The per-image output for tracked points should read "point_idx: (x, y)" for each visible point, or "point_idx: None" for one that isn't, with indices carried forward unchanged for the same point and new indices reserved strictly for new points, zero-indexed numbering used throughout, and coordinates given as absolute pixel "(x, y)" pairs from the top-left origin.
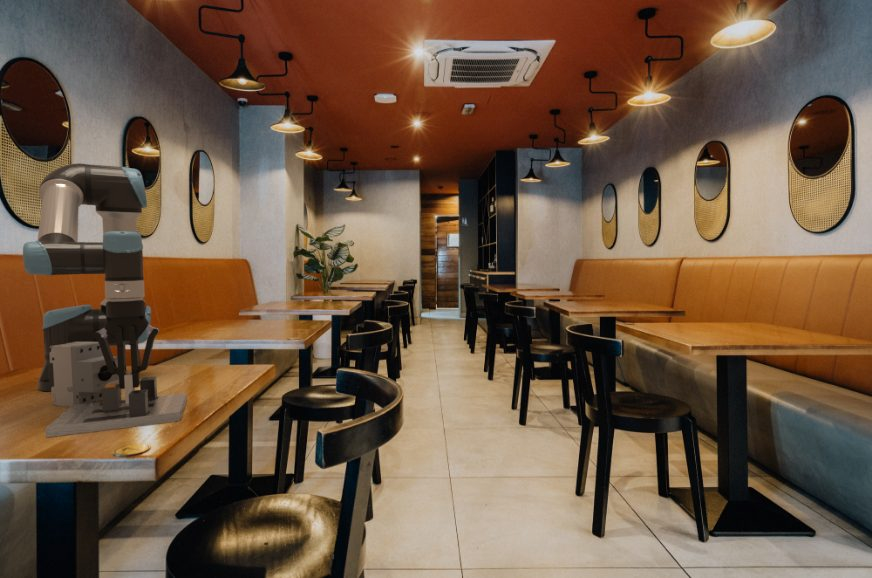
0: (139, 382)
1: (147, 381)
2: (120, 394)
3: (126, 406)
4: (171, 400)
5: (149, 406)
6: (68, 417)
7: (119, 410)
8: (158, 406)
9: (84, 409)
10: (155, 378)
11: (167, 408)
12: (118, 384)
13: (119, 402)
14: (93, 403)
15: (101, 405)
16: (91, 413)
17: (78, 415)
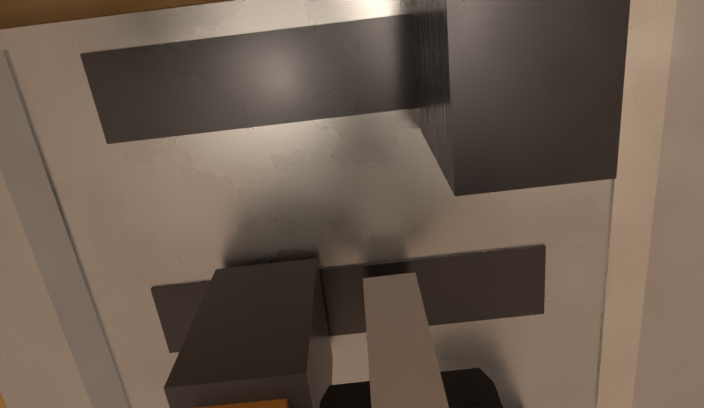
0: (498, 403)
1: (533, 183)
2: (317, 339)
3: (353, 266)
4: (659, 185)
5: (517, 316)
6: (67, 395)
7: (334, 340)
8: (575, 323)
9: (64, 252)
10: (620, 63)
11: (635, 387)
12: (294, 397)
13: (325, 346)
14: (15, 58)
15: (132, 159)
16: (173, 355)
17: (113, 383)
